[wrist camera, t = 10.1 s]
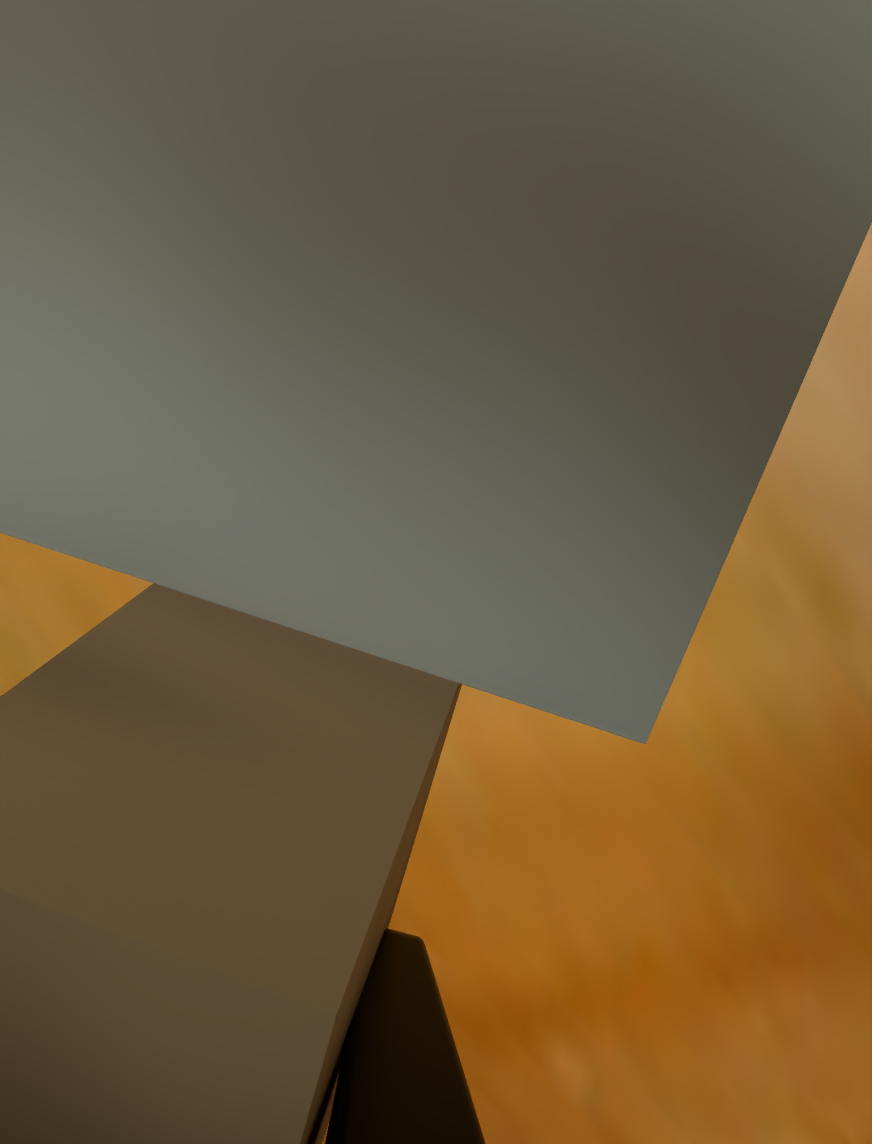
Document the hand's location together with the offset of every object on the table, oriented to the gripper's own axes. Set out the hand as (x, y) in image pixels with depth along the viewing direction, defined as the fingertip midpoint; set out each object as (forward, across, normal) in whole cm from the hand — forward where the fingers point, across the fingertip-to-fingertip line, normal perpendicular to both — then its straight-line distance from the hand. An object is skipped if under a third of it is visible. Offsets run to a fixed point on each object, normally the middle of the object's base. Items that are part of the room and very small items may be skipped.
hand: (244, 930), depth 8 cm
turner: (0, 0, -4) cm, 4 cm away
